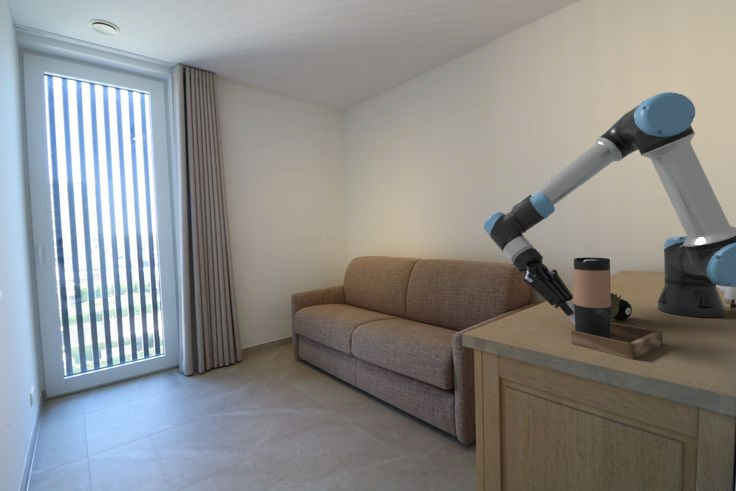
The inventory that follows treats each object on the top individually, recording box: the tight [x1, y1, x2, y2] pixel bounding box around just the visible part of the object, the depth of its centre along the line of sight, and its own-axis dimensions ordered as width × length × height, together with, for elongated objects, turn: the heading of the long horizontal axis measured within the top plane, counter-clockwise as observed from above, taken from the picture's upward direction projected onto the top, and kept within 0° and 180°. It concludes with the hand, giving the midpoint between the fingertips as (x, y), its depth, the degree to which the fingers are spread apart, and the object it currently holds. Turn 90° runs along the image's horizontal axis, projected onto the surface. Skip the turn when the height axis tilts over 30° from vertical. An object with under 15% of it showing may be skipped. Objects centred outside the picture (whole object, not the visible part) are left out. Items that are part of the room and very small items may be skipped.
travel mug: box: [573, 257, 612, 339], centre depth 85 cm, size 8×8×20 cm
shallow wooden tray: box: [571, 321, 663, 360], centre depth 81 cm, size 15×12×3 cm
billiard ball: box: [612, 298, 633, 321], centre depth 101 cm, size 6×6×6 cm
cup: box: [611, 292, 622, 322], centre depth 99 cm, size 8×7×8 cm
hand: (583, 324), depth 87 cm, fingers closed
